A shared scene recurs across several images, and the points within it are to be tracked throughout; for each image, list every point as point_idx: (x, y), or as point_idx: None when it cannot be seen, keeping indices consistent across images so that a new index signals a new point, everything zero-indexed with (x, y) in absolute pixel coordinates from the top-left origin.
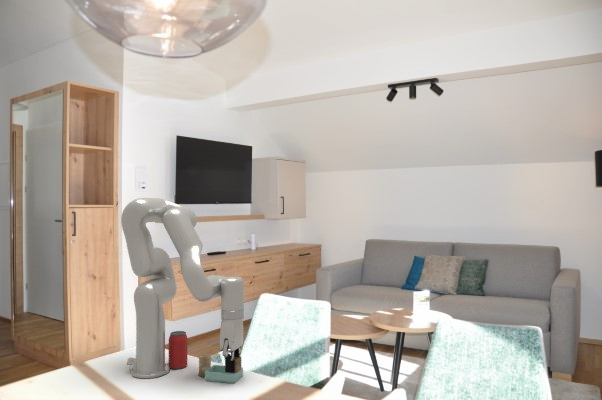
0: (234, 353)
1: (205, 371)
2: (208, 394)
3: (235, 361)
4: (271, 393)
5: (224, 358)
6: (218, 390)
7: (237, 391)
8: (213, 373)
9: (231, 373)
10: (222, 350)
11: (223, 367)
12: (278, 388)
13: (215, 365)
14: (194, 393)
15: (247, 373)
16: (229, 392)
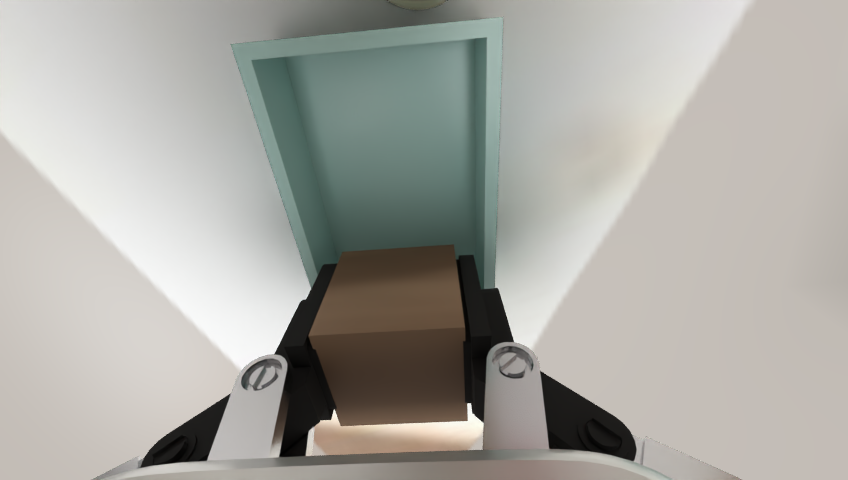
0: (481, 394)
1: (233, 52)
2: (97, 227)
3: (340, 409)
4: (325, 441)
5: (236, 381)
6: (193, 250)
7: (255, 339)
8: (272, 157)
9: (477, 213)
10: (160, 478)
11: (484, 155)
12: (388, 445)
13: (485, 49)
14: (16, 126)
15: (551, 279)
16: (216, 314)
